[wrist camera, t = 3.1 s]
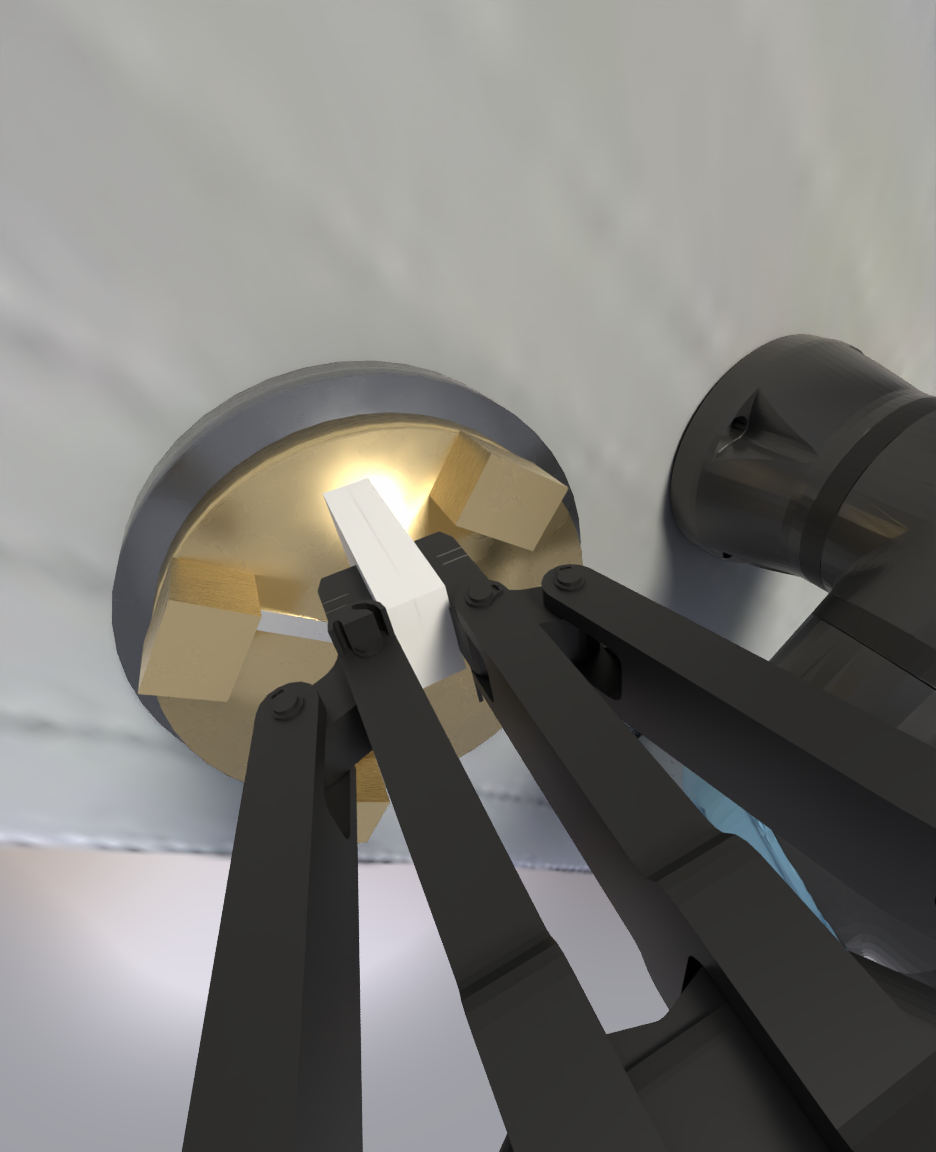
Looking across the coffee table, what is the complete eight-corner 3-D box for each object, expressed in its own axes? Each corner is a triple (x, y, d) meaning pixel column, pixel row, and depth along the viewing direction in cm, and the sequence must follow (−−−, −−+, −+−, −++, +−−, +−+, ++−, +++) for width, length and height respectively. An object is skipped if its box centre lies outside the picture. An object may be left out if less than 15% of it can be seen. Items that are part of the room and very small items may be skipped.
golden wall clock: (519, 337, 24) (590, 362, 20) (580, 655, 37) (631, 711, 32) (29, 542, 20) (-14, 626, 16) (287, 813, 33) (301, 899, 29)
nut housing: (510, 283, 26) (543, 289, 23) (577, 633, 40) (601, 659, 38) (-19, 493, 22) (-46, 526, 19) (269, 796, 36) (275, 837, 34)
